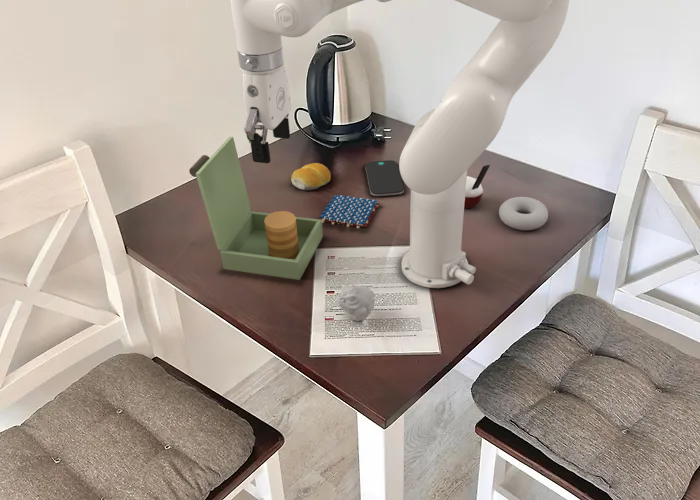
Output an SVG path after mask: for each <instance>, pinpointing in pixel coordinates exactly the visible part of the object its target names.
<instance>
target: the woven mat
mask: <svg viewBox="0 0 700 500" xmlns="http://www.w3.org/2000/svg"><path fill="white" fill-rule="evenodd" d="M326 205H327V206H326V207H325V208H324V211H322V212H321V213H322V214H321V215H319V218H320V219H319V220H322V224H324V223H331V225H335V224H336V223H337V225H340V224H341V225H342V226H346V227H347V228H349V227H353V226H354V227H356V229H360V228H367V227H368V225H370V224H371V220H372V219H373V216H374V214H375V213H376V212H377V209H378V207H379V205H380V203H379V202H378V199H376V200H375V199H371V198H370V199H369V198H367V199H366V198H365V197H363V198H362V197H355V196H349V195H348V196H347V195H342V194H337V195H333V196H332V198H331V199H330V200H329V203H327V204H326Z"/></svg>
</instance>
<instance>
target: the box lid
mask: <svg viewBox="0 0 700 500" xmlns="http://www.w3.org/2000/svg"><path fill="white" fill-rule="evenodd" d="M189 174H190V175H191V177H193V178H196V180H197V184H198V186H199V190H200V193H201V197H202V200H203V203H204V208H205V211H206V214H207V217H208V221H209V225H210V227H211V231H212V234H213V238H214V241H215V245H216V249H217V251H221V250H222V249H223V248H224V246H225V245H226V243H227V242H228V241H229V239H230V238H231V237H232V235H233V234H234V232H235V231H236V230H237V228H238V227H239V225H240V224H241V223H242V221H243V220H244V219H245V217H246V216H247V214H248V213H249V212H250V211H251V210H252V207H251V203H250V199H249V195H248V192H247V188H246V187H247V186H246V184H245V183H246V182H245V179H244V176H243V171H242V168H241V163H240V159H239V155H238V151H237V147H236V143H235V139H234V136H229V137H228V138H227V139H226V140H225V141H224V142H223V143H222V144H221V146H219V148H217V149H216V151H215V152H213V154H212V155H211V156H208V155H207V154H203V155H201V156H200V157H199V159H197V161H196V162H195V163H194V164H193V165H192V166H191V167H190V168H189Z"/></svg>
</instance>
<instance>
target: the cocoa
mask: <svg viewBox="0 0 700 500" xmlns="http://www.w3.org/2000/svg"><path fill="white" fill-rule="evenodd" d="M490 167H491V165H490V164H485V165H483V166H482V168H481V170H480V171H479V173H478V175H477V178H475V177H472V176H469V175H467V180H466V192H465V202H464V209H472V208H475V207H476V206H477V205H479V203H480V202H481V199H482V197H483V193H484V189H483V186H482V181H483V180H484V179H485V176H486V174H487V172H488V171H489V168H490Z"/></svg>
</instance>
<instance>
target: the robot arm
mask: <svg viewBox="0 0 700 500" xmlns="http://www.w3.org/2000/svg"><path fill="white" fill-rule="evenodd" d="M362 1H364V0H229V3H230V10H231V17H232V24H233V30H234V38H235V43H236V44H235V45H236V51H237V52H236V53H237V57H238V59H237V60H238V65H239V70H240V72H242V94H243V103H244V104H243V105H244V114H245V120H246V122H245V125H244V126H243V127H244V128H243V130H244V131H243V132H244V133H245V136H246V139H247V140H248V143H249V144H250V151H251V156H252V161H253V162H254V163H260V164H270V162H271V161H272V159H271V152H270V146H269V142H268V141H267V137H268V131H272V135H273V138H275V139H285V140H288V139H290V138H291V131H290V122H289V115H290V114H289V113H290V112H291V110H292V103H291V95H290V88H289V87H290V86H289V82H288V76H287V72H286V71H287V70H286V67H285V63H284V62H285V61H284V60H285V59H284V49H283V40H282V37H286V38H299V37H302V36H304V35H306V34H307V33H309V32H310V31H311V30H312V29H313V28H314V27H316V25H318V23H320V22H321V21H322V20H323V19H324V18H325V17H326V16H328V15H330V14H332V13H334V12H337V11H340V10H342V9H344V8H347V7H349V6H351V5H354V4H357V3H360V2H362ZM376 1H377V2H379V3H387V2H391V1H392V0H376ZM454 1H456V2H458V3H460V4H462V5H465V6H467V7H469V8H472V9H474V10H477V11H479V12H481V13H483V14H485V15H488V16H491V17H493V18H495V19H498V20H499V22H498V23H497V25H496V26H495V27H494V28H493V29H492V31H491V32H490V33H489V35H488V37H487V38H486V39H485V41H484V42H483V44H482V45H481V46H480V48H478V50H477V51H476V52H475V54H474V55H472V57H471V59H470V60H469V61H468V62H467V63H466V65H464V67H462V69H461V70H460V71H459V72H458V73H457V74H456V75H455V76H454V78H453V79H452V81H451V82H450V83H449V86H448V88H447V89H446V92H445V93H444V96H443V98H442V99H441V101H440V102H439V104H438V105H437V107H436V108H433V109H432V110H429V111H428V112H426V113H425V114H423V115H422V116H421V117H420V118H419V120H418V121H417V122H416V123H415V126H414V127H413V129H412V131H411V132H410V135H409V136H408V139H407V141H406V143H405V145H404V147H403V149H402V151H401V153H400V157H399V161H398V162H399V163H398V169H399V172H400V176H401V179H402V182H403V183H404V184H405V185H406V186H407V187H408V188H409V189H410V203H409V205H410V207H409V210H410V211H409V212H410V215H409V250H408V251H407V252H406V253H404V255H403V256H402V259H401V265H400V266H401V272H402V274H403V276H404V277H406V279H407V280H408V281H409V282H412V283H413V284H415V285H417V286H420V287H424V288H429V289H444V288H448V287H452V286H455V285H457V284H459V283H461V282H463V283H464V284H465V285H472V283H473V282H474V279H475V276H474V274H475V273H476V271H477V267H476V266H473V265H471V264H469V261H468V259H467V257H466V256H467V252H465V251H463V250H462V243H463V227H464V215H465V208H464V202H465V192H466V180H467V176H468V171H469V168H470V167H471V166H472V165H473V164H474V163H475V162H476V161H477V159H478V158H479V157H481V155H482V154H483V153H484V152H485V150H486V149H487V148H488V147H489V146H490V145H491V144H492V142H493V141H494V140H495V139H496V137H497V135H498V134H499V132H500V130H501V129H502V127H503V124H504V121H505V119H506V115H507V111H508V109H509V106H510V103H511V102H512V99H513V98H514V96H515V95H516V94H517V93H518V91H519V90H520V89H521V87H522V86H523V85H524V84H525V83H526V82H527V80H528V79H529V78H530V77H531V75H532V74H533V72H534V71H536V69H537V68H538V67H539V65H540V64H541V63H542V62H543V61H544V60H545V58H546V57H547V55H548V54H549V52H550V51H551V49H552V48H553V46H554V45H555V43H556V41H557V39H558V38H559V36H560V34H561V32H562V30H563V27H564V24H565V21H566V17H567V14H568V10H569V4H570V0H454ZM258 123H259V124H258ZM257 130H258V131H261V134H259V133H258V132H257Z"/></svg>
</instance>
